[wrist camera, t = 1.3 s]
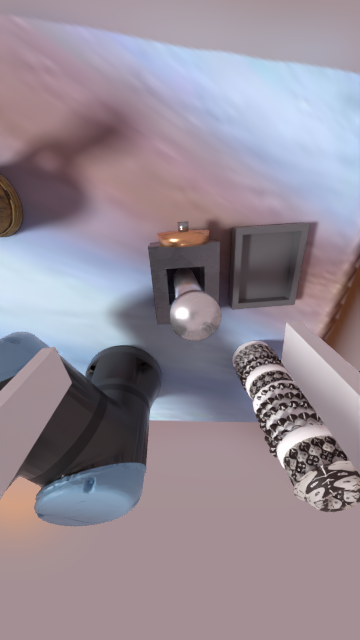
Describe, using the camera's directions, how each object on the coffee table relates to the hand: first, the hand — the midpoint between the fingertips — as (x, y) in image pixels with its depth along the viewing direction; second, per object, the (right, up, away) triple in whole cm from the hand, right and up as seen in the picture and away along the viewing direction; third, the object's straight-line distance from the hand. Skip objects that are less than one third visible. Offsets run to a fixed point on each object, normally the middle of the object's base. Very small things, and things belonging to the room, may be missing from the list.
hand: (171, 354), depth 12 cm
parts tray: (+15, +11, +24) cm, 30 cm away
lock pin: (+1, +9, +24) cm, 25 cm away
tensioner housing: (+1, +10, +23) cm, 25 cm away
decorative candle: (+16, -6, +32) cm, 36 cm away
